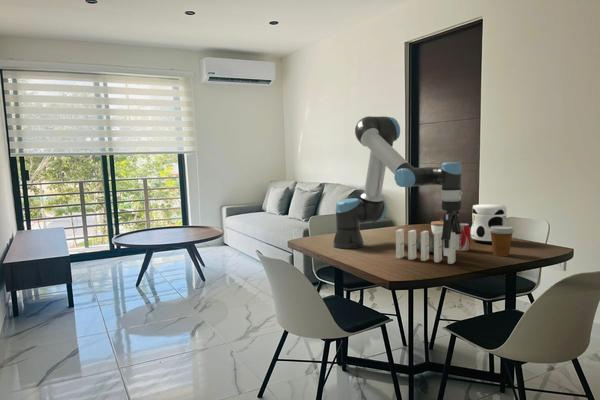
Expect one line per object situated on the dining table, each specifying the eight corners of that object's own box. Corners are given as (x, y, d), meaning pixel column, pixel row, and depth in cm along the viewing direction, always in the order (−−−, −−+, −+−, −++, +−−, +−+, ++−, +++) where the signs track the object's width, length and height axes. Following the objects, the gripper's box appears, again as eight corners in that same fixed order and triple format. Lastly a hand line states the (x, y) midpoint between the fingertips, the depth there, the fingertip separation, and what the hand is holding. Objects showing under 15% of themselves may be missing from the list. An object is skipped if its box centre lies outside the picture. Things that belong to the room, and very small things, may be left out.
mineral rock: (441, 255, 192) (441, 233, 191) (416, 255, 194) (416, 233, 193) (437, 249, 205) (437, 228, 204) (414, 249, 207) (414, 228, 206)
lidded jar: (432, 238, 232) (432, 220, 231) (429, 234, 243) (429, 218, 242) (453, 238, 230) (453, 220, 230) (449, 234, 241) (449, 217, 240)
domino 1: (396, 258, 190) (395, 230, 189) (400, 255, 194) (399, 229, 193) (400, 258, 189) (399, 231, 188) (404, 256, 193) (403, 229, 192)
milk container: (466, 238, 228) (466, 204, 226) (500, 238, 226) (500, 203, 225) (476, 245, 211) (476, 208, 209) (513, 244, 209) (514, 207, 208)
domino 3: (420, 260, 184) (420, 232, 183) (424, 258, 188) (424, 230, 187) (425, 261, 183) (425, 232, 182) (429, 258, 187) (428, 230, 186)
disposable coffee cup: (503, 258, 184) (503, 229, 182) (484, 254, 192) (484, 227, 191) (518, 255, 188) (518, 227, 187) (499, 251, 196) (499, 224, 195)
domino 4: (434, 262, 181) (434, 233, 180) (437, 259, 185) (437, 231, 184) (438, 262, 180) (438, 233, 179) (442, 259, 184) (442, 231, 183)
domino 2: (408, 259, 187) (408, 231, 186) (412, 257, 191) (412, 229, 190) (412, 259, 186) (412, 231, 185) (416, 257, 190) (416, 230, 189)
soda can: (471, 251, 198) (471, 225, 197) (455, 251, 199) (455, 225, 198) (468, 248, 205) (469, 223, 203) (453, 248, 206) (453, 223, 205)
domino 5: (447, 263, 178) (447, 234, 177) (451, 260, 182) (450, 232, 181) (452, 263, 177) (452, 234, 176) (455, 261, 181) (455, 232, 180)
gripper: (453, 203, 165) (453, 259, 167) (468, 197, 185) (468, 248, 187) (433, 203, 169) (433, 257, 171) (450, 197, 189) (450, 246, 191)
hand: (451, 252), depth 179 cm, fingers open, 12 cm apart
